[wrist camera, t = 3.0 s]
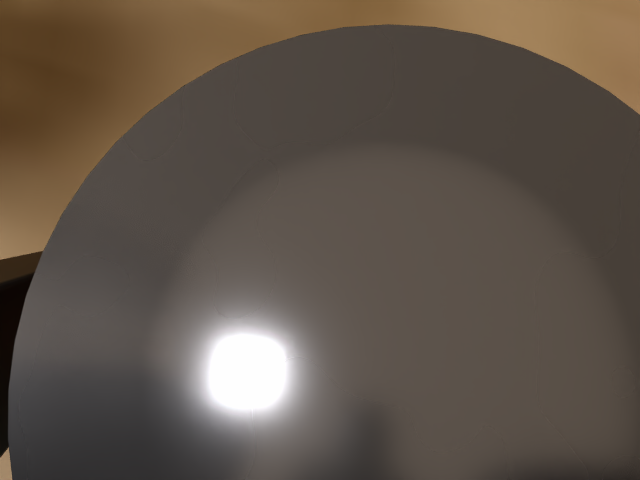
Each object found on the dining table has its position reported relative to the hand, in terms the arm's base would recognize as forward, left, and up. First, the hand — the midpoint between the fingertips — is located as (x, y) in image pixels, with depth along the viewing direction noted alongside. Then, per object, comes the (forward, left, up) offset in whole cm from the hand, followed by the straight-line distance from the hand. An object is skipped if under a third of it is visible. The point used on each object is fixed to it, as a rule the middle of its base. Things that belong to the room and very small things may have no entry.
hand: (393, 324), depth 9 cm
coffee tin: (-1, 0, -8) cm, 8 cm away
